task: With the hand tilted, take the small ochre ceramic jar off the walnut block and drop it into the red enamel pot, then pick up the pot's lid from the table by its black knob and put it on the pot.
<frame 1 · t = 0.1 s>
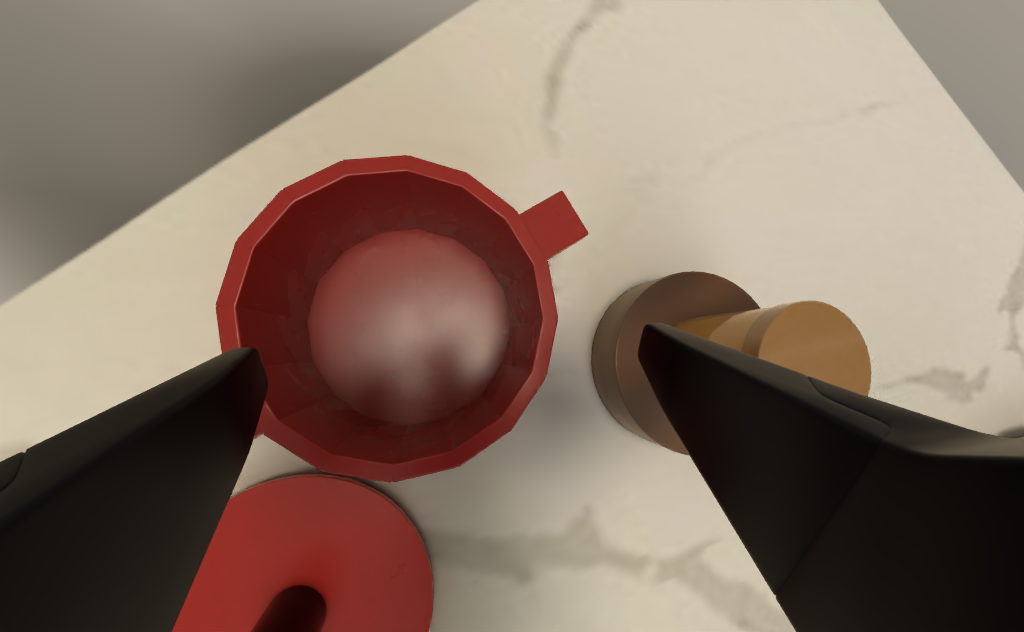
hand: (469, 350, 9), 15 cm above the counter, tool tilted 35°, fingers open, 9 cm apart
lid: (299, 608, 20), point 1 cm above the counter
walnut block: (666, 360, 26), on the counter
jar: (700, 361, 23), point 3 cm above the counter, touching walnut block
pot: (413, 325, 23), on the counter
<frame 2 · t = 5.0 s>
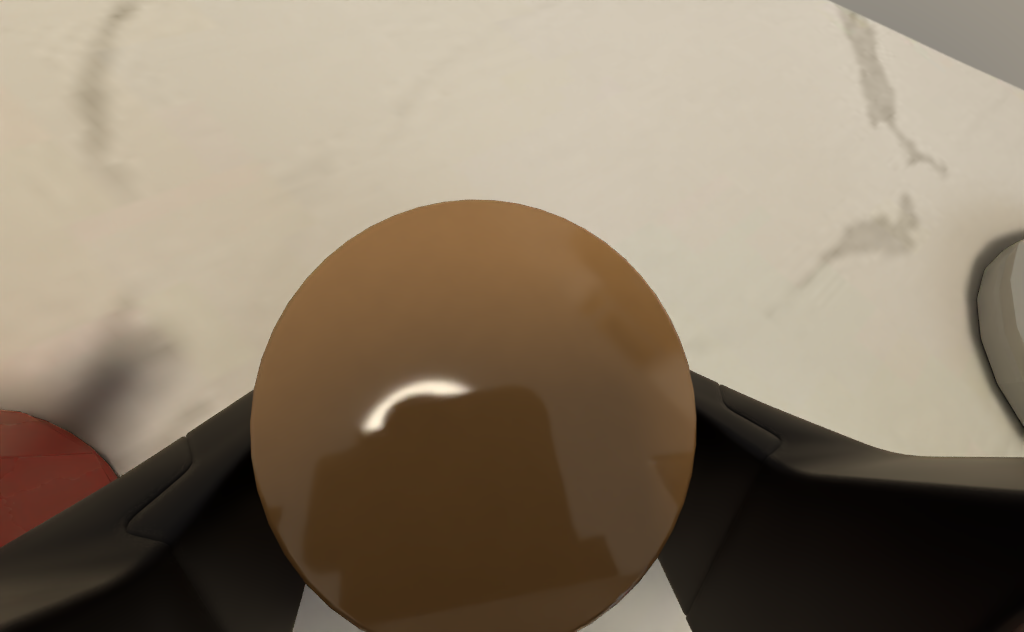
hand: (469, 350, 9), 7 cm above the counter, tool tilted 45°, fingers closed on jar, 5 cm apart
jar: (465, 416, 12), point 4 cm above the counter, touching gripper, walnut block
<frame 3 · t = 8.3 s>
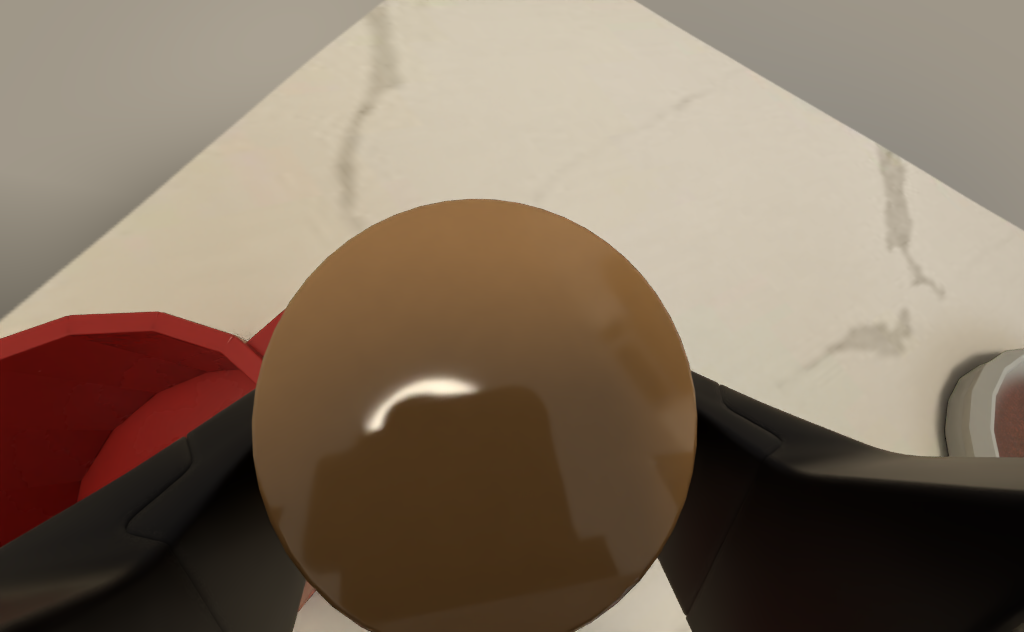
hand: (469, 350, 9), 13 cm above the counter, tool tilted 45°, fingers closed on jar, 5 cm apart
jar: (465, 416, 12), point 10 cm above the counter, touching gripper
pot: (225, 489, 19), on the counter
when the fingers open (9 cm above the counter, at t = 11.7 s): jar drops 6 cm, resting on pot.
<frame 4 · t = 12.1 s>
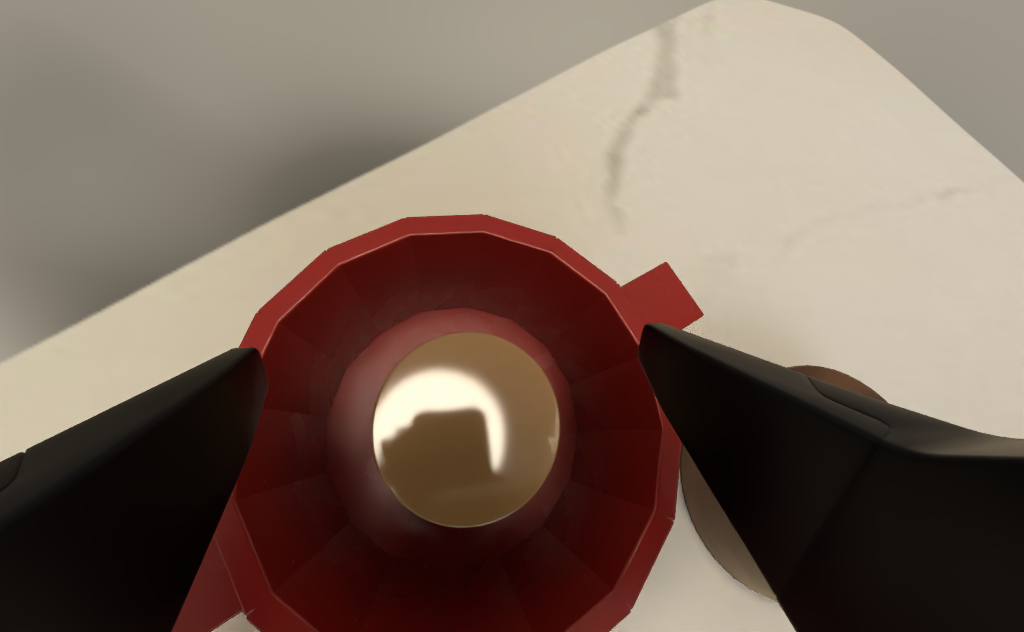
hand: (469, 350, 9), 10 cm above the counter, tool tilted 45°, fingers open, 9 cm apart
walnut block: (775, 478, 20), on the counter
jar: (458, 425, 18), resting on pot
pot: (458, 425, 18), on the counter
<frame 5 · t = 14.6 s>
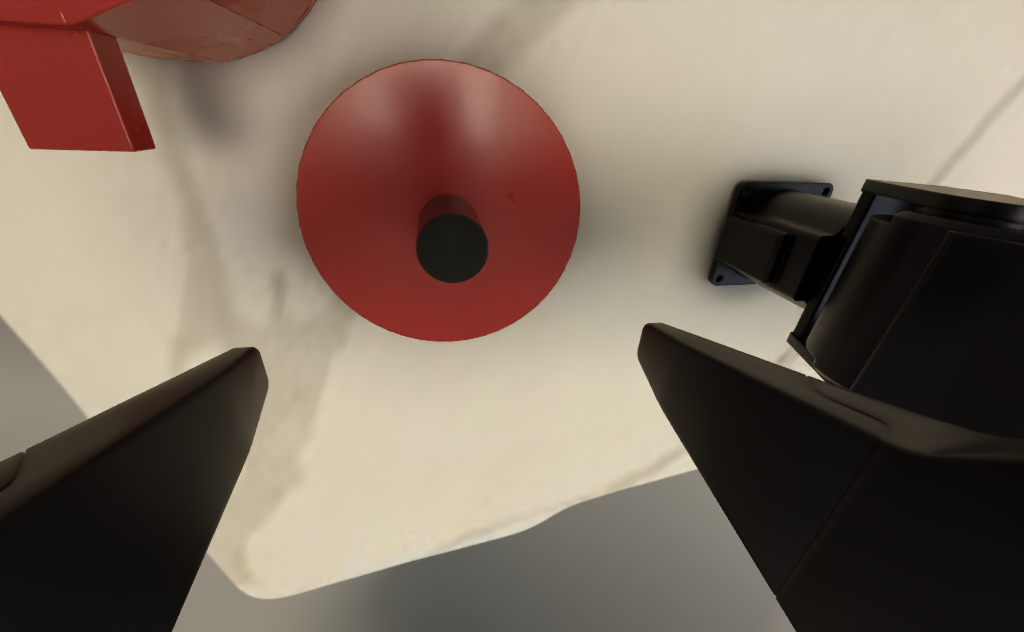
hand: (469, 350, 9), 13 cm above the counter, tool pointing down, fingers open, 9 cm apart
lid: (448, 221, 20), point 1 cm above the counter
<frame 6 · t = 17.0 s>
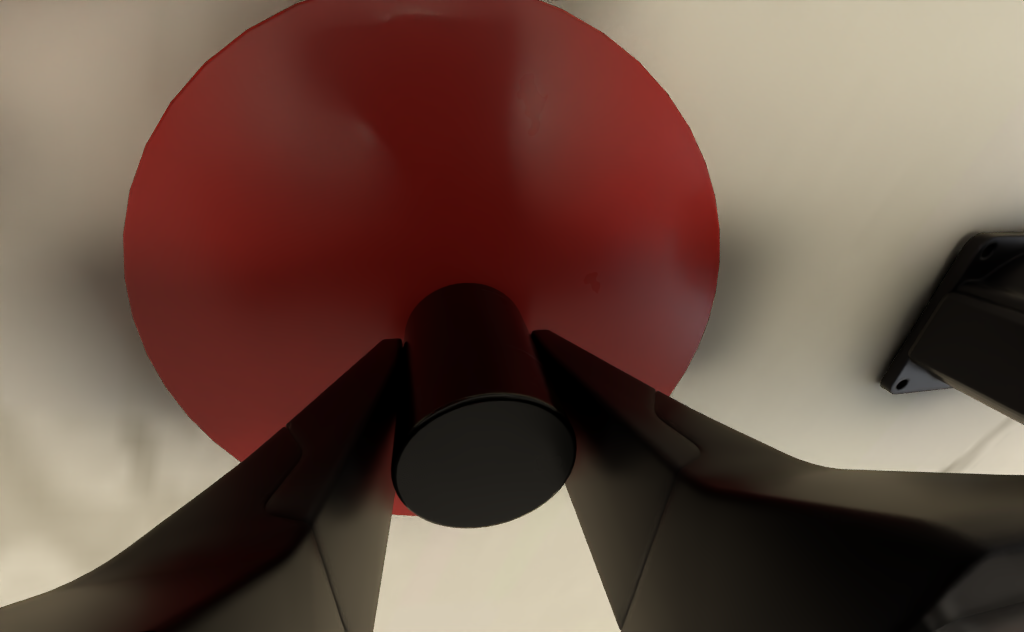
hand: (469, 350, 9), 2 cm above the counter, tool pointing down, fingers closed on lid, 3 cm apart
lid: (464, 326, 10), point 1 cm above the counter, touching gripper
when the fingers open (9 cm above the counter, at t = 21.7 s): lid stays where it is, resting on pot.
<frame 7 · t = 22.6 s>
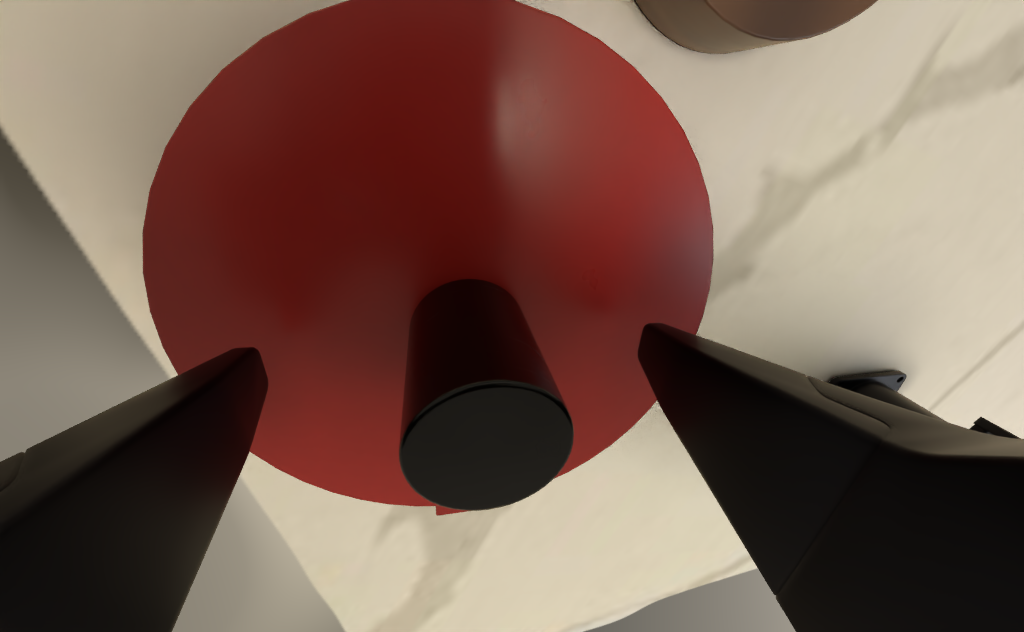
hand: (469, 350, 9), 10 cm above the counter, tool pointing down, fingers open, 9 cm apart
lid: (466, 321, 11), point 8 cm above the counter, touching pot
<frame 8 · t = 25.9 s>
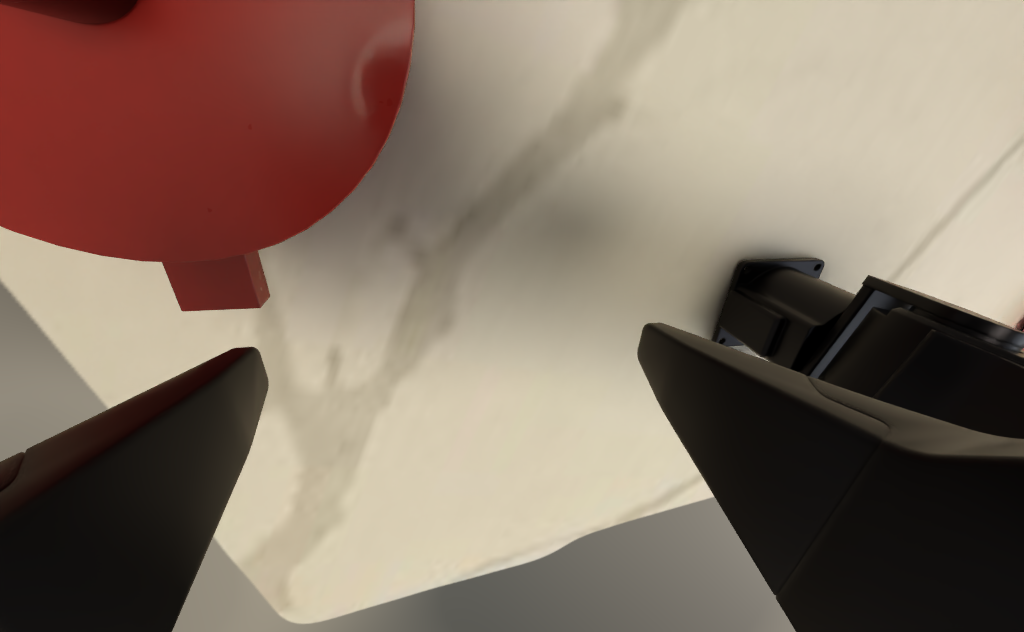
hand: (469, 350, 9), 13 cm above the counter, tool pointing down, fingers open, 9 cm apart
pot: (238, 17, 15), on the counter
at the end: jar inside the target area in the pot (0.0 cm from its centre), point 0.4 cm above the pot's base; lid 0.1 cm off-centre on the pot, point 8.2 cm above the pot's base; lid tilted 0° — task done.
